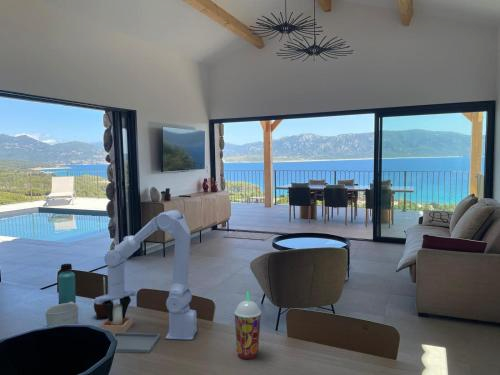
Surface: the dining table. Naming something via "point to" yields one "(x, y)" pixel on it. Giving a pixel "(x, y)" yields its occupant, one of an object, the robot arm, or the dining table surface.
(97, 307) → the mate gourd
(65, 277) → the beverage bottle
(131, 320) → the shallow square box
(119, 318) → the peg
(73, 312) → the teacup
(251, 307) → the smoothie
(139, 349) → the tray
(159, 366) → the dining table surface
